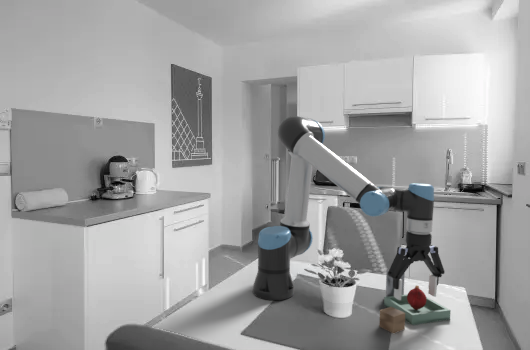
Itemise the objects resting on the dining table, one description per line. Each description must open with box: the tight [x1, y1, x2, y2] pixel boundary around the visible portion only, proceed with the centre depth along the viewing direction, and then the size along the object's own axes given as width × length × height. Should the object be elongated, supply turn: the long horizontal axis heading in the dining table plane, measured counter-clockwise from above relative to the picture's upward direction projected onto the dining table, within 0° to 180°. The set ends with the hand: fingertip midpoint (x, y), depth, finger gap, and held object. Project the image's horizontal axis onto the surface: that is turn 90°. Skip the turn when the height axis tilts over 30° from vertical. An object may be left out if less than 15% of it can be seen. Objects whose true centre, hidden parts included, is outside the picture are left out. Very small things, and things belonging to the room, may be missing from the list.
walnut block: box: [378, 307, 406, 335], centre depth 104 cm, size 5×5×5 cm
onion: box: [407, 285, 427, 310], centre depth 114 cm, size 6×6×8 cm
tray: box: [383, 293, 451, 326], centre depth 114 cm, size 14×14×3 cm
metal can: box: [385, 268, 406, 297], centre depth 125 cm, size 6×6×10 cm
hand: (415, 296), depth 114 cm, fingers open, 13 cm apart
